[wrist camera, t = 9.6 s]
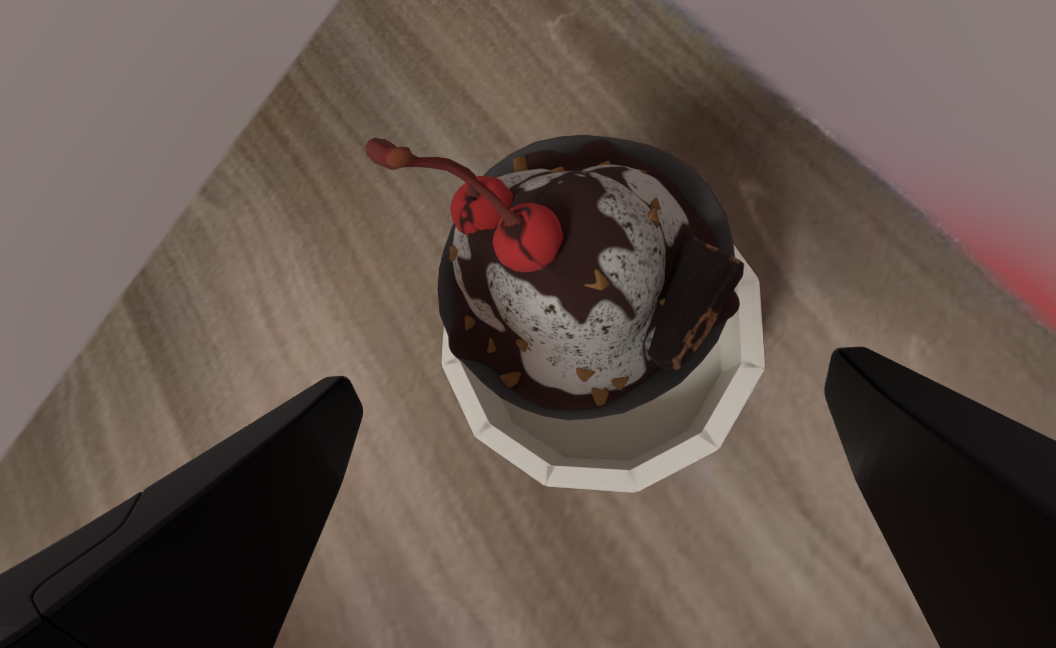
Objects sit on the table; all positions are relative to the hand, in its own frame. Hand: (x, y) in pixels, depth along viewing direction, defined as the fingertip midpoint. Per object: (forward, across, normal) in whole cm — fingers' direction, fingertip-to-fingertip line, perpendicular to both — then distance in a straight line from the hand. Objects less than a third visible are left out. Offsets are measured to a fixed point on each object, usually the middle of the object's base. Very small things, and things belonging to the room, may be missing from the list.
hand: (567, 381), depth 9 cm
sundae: (+10, 0, +6) cm, 12 cm away
